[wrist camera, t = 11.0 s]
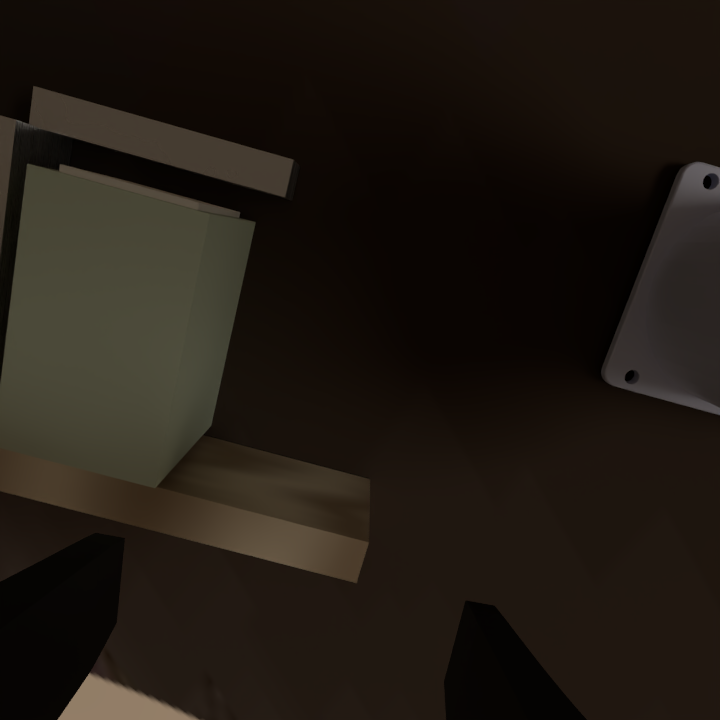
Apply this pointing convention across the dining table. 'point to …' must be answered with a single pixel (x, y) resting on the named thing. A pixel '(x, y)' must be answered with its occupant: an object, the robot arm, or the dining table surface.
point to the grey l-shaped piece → (121, 134)
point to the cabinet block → (117, 322)
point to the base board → (222, 503)
